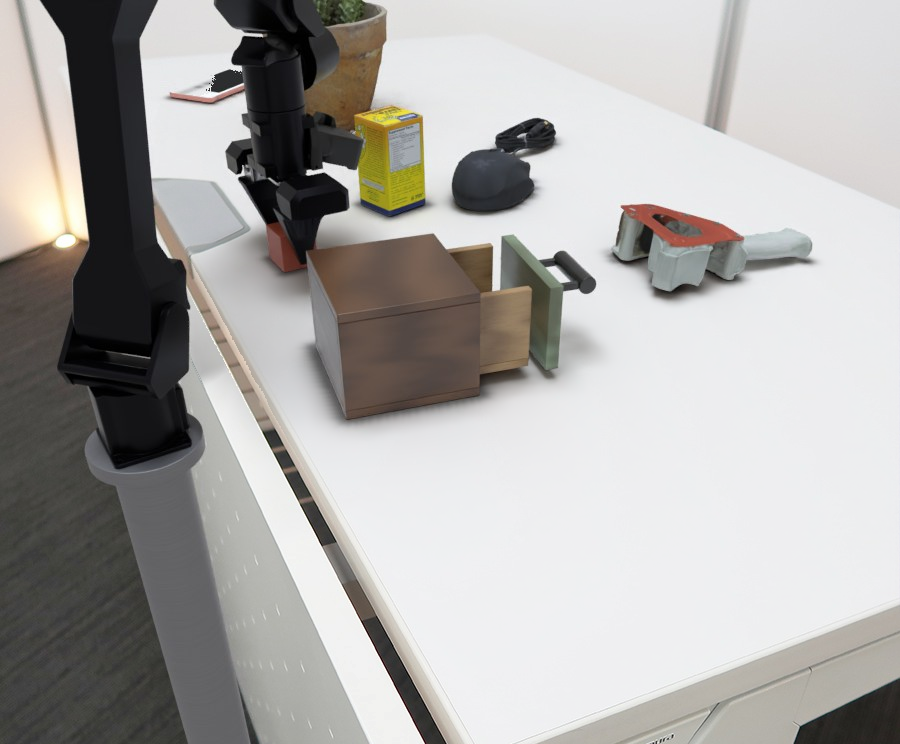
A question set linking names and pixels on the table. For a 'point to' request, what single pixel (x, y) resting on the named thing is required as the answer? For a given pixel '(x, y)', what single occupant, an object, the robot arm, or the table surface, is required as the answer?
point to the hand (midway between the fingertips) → (293, 253)
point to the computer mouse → (500, 169)
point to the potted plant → (349, 60)
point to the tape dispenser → (696, 245)
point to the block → (282, 248)
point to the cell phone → (218, 87)
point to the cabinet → (395, 324)
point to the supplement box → (391, 159)
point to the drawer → (520, 302)
